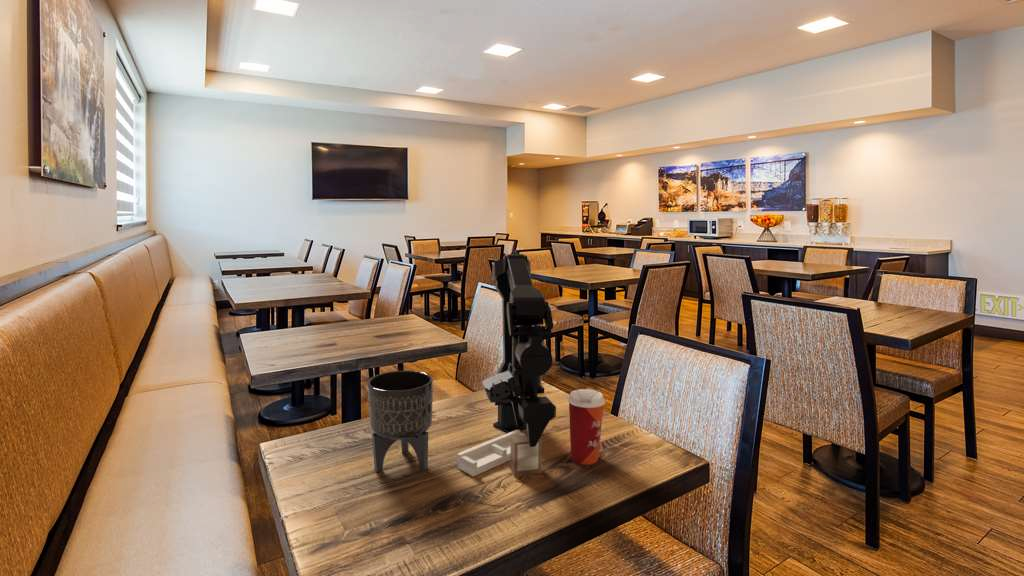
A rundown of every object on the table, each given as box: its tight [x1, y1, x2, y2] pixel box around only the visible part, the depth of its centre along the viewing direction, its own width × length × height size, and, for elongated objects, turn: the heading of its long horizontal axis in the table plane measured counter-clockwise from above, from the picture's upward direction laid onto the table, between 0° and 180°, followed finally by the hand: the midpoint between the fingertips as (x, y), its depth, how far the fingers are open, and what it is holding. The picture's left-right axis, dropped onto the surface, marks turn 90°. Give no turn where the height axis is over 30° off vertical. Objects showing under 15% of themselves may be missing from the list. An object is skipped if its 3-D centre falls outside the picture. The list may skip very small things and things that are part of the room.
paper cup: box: [567, 388, 606, 466], centre depth 112 cm, size 8×8×14 cm
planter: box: [366, 370, 434, 473], centre depth 109 cm, size 13×13×18 cm
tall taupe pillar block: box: [509, 434, 543, 477], centre depth 107 cm, size 6×3×7 cm, turn 104°
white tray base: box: [456, 429, 527, 477], centre depth 113 cm, size 5×17×3 cm, turn 134°
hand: (525, 436), depth 106 cm, fingers open, 9 cm apart
